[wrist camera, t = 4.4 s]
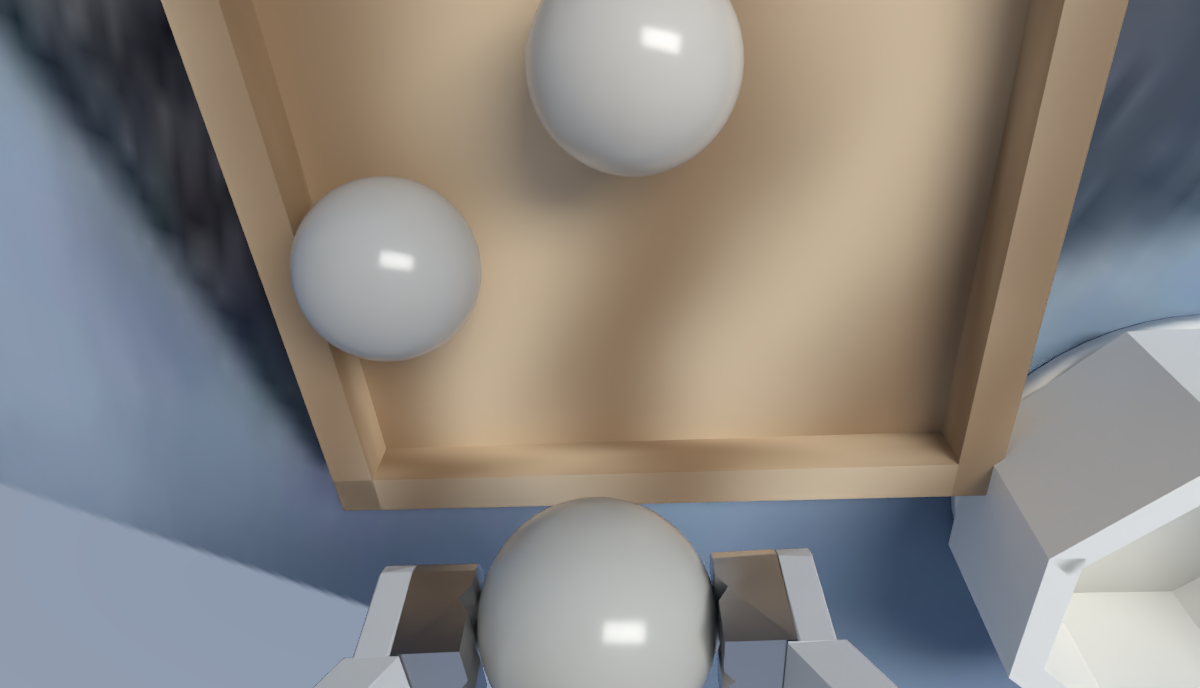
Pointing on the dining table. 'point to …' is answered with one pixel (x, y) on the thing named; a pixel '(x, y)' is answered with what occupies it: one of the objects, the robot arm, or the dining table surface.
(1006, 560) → the bowl
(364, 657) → the robot arm
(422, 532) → the dining table surface
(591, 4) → the pebble
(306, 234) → the pebble
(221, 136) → the tray
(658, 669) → the light grey sphere
